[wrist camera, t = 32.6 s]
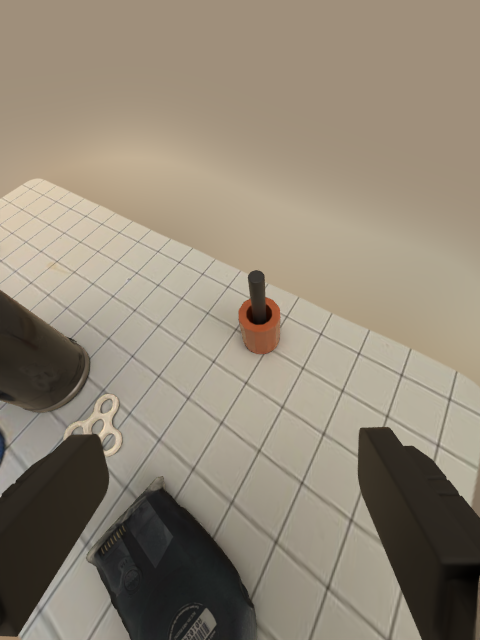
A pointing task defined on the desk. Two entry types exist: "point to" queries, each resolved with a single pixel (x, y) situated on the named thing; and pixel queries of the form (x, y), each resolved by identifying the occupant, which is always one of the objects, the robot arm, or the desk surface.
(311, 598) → the desk surface
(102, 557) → the electronic device
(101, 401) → the fidget spinner
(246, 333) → the pen holder
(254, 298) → the dark grey rod
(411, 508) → the robot arm
